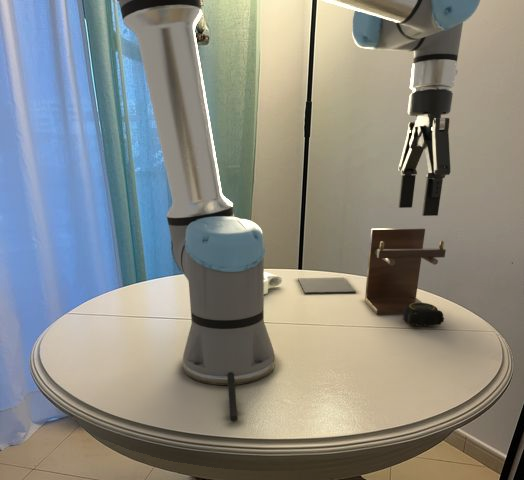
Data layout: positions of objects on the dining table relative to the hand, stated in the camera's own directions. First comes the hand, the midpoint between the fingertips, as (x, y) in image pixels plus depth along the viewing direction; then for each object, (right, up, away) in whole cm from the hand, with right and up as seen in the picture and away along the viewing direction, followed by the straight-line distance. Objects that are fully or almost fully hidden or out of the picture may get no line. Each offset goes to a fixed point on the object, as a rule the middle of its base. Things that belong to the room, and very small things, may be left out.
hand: (416, 211), depth 91 cm
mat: (-14, -11, +30) cm, 35 cm away
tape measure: (+2, -23, +2) cm, 23 cm away
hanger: (0, -8, +4) cm, 9 cm away
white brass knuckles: (-35, -11, +30) cm, 48 cm away
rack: (0, -19, +12) cm, 22 cm away
